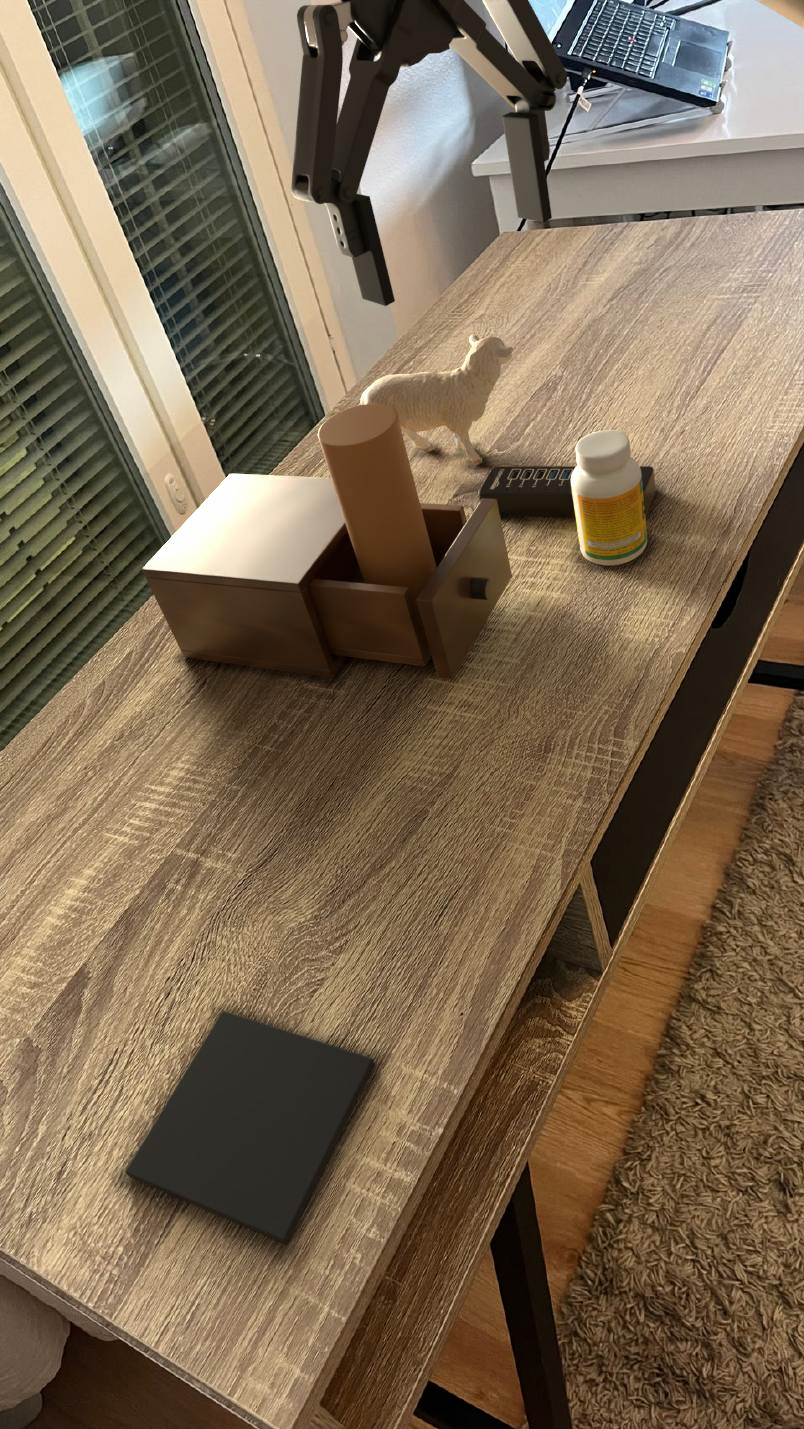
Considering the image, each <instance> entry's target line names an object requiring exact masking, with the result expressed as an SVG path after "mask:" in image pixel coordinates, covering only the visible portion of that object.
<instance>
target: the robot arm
mask: <svg viewBox="0 0 804 1429" xmlns="http://www.w3.org/2000/svg"><path fill="white" fill-rule="evenodd" d="M755 1H756V2H758V3H760V4H762V5H763V6H765V7H766V8H768V9H770V10H771V11H773V12H775V13H777V14H779V15H780V16H782V17H784V18H786V19H787V20H788V21H791V22H792V23H794V24H796V25H797V26H799V27H801V28H802V29H804V0H755ZM482 3H483V4H484V6H485V8H486V10H487V12H488V13H489V15H490V17H491V18H492V20H493V23H494V24H495V26H496V28H497V29H498V31H499V32H500V34H501V36H502V38H503V40H504V41H505V43H506V45H507V47H508V48H509V50H510V52H509V51H508V49H506V47H504V46H503V44H501V42H500V41H498V39H496V37H495V36H494V35H493V34H492V33H491V32H490V31H489V30H488V29H487V28H486V27H487V23H486V22H485V20H484V19H483V18H482V17H481V16H480V15H479V14H478V13H477V12H476V11H475V10H474V9H473V8H472V6H470V5H469V3H467V2H466V0H340V1H338V2H332V3H328V4H305V5H304V4H303V5H302V6H300V7H299V8H298V9H297V13H296V22H297V28H298V35H299V40H300V41H299V42H300V46H301V52H302V59H301V60H302V61H301V72H300V73H301V74H300V83H299V92H298V95H299V96H298V106H297V115H296V116H297V117H296V126H295V127H296V129H295V140H294V152H293V162H292V172H291V174H292V175H291V185H290V189H291V190H290V191H291V194H292V197H293V198H295V199H297V200H299V201H304V202H308V203H311V204H312V203H313V204H316V205H325V207H326V209H327V213H328V217H329V221H330V224H331V228H332V231H333V235H334V238H335V242H336V246H337V249H338V250H339V252H340V253H341V255H343V256H345V257H349V258H351V260H352V265H353V267H354V272H355V276H356V279H357V283H358V287H359V290H360V294H361V298H362V300H365V301H369V302H371V303H374V304H378V305H381V306H384V307H387V306H389V305H391V304H393V303H395V302H396V300H395V295H394V290H393V286H392V282H391V279H390V275H389V270H388V267H387V262H386V258H385V253H384V250H383V246H382V241H381V237H380V233H379V229H378V225H377V220H376V216H375V212H374V207H373V204H372V200H371V196H370V195H365V194H362V193H361V194H360V193H358V191H359V187H360V184H361V181H362V178H363V175H364V171H365V168H366V165H367V162H368V159H369V154H370V152H371V149H372V145H373V141H374V138H375V135H376V132H377V129H378V126H379V123H380V118H381V116H382V113H383V109H384V106H385V103H386V99H387V96H388V92H389V89H390V87H391V86H392V85H393V84H394V83H395V82H396V80H398V76H399V74H400V69H401V67H403V68H410V67H413V66H414V65H416V64H419V63H420V62H422V61H423V60H424V59H425V58H426V57H427V56H428V55H432V54H441V53H443V52H446V51H448V50H450V49H451V48H452V49H453V50H454V51H455V52H456V53H457V54H458V55H459V56H460V57H461V58H462V59H463V60H464V61H465V62H466V63H467V64H468V65H469V66H470V67H471V68H472V69H473V70H474V71H475V72H476V73H477V74H478V75H479V76H480V77H481V78H482V79H483V80H485V82H486V83H488V84H489V85H490V87H492V88H493V90H495V92H497V93H498V94H499V95H500V96H501V98H503V99H504V100H505V101H506V102H507V103H508V104H509V106H511V107H512V108H513V109H515V111H510V112H507V113H505V114H503V115H502V116H501V119H502V125H503V131H504V138H505V144H506V150H507V151H506V152H507V156H508V158H507V159H508V163H509V171H510V176H511V183H512V189H513V194H514V201H515V208H516V214H517V218H520V219H524V220H530V221H534V222H539V223H546V222H547V221H549V220H551V219H552V217H553V215H552V208H551V200H550V193H549V186H548V185H549V184H548V179H547V178H548V177H547V172H546V165H545V162H547V161H548V160H550V154H551V153H550V152H551V148H550V141H549V135H548V132H549V131H548V126H547V125H548V124H547V118H546V112H551V111H552V110H553V109H554V107H555V106H556V102H557V95H556V93H555V91H557V90H561V89H563V88H564V87H565V86H566V84H567V83H568V82H567V81H568V74H567V71H566V70H567V69H565V66H564V65H563V63H562V61H561V59H560V57H559V55H558V53H557V52H556V50H555V47H554V45H553V44H552V42H551V39H550V37H549V36H548V35H547V32H546V31H545V29H544V27H543V25H542V23H541V21H540V20H539V17H538V16H537V13H536V12H535V10H534V7H533V6H532V4H531V2H530V1H529V0H482ZM347 29H349V30H350V31H351V32H352V33H353V34H354V35H355V36H356V37H357V38H356V40H355V45H354V48H353V52H352V54H351V58H350V61H349V66H348V73H349V76H350V77H349V80H348V84H347V88H346V91H345V94H344V98H343V101H342V104H341V108H340V111H339V105H340V95H341V86H342V76H343V63H344V57H343V56H344V51H343V50H344V49H343V46H344V45H345V43H346V42H347V41H348V38H349V34H348V31H347ZM375 58H377V60H375Z"/></svg>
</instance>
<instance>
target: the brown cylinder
mask: <svg viewBox="0 0 804 1429" xmlns="http://www.w3.org/2000/svg"><path fill="white" fill-rule="evenodd" d="M317 437H318V438H317V439H318V441H319V444H320V448H321V450H322V453H323V457H324V460H325V463H326V466H327V470H328V473H329V477H330V478H331V479H332V482H333V485H334V489H335V492H336V495H337V498H338V501H339V504H340V507H341V511H342V514H343V517H344V520H345V523H346V526H347V530H348V533H349V536H350V539H351V542H352V545H353V548H354V552H355V555H356V558H357V561H358V564H359V567H360V571H361V574H362V577H363V580H364V583H366V584H376V585H387V586H398V587H408V588H409V592H410V595H411V599H412V602H413V606H414V609H415V613H416V616H417V620H418V623H419V627H420V626H422V625H423V623H422V619H421V616H420V612H419V608H418V605H417V601H416V599H417V598H418V596H419V595H420V593H421V591H422V590H423V588H424V587H425V585H426V584H427V582H428V581H429V579H430V578H431V576H432V575H433V573H434V572H435V570H436V569H437V567H436V563H435V560H434V556H433V552H432V548H431V544H430V540H429V536H428V532H427V529H426V525H425V521H424V517H423V513H422V509H421V505H420V503H421V501H420V498H419V493H418V489H417V486H416V483H415V479H414V475H413V471H412V468H411V463H410V458H409V454H408V452H407V448H406V444H405V440H404V435H403V432H402V431H401V428H400V424H399V420H398V416H397V413H396V411H395V410H394V409H393V408H391V407H389V406H387V405H382V404H365V405H361V404H359V405H356V406H352V407H349V408H346V409H344V410H341V411H339V412H337V413H335V414H333V415H332V416H330V417H329V418H327V419H326V421H324V422H323V423H322V425H321V426H320V427H319V429H318V432H317Z"/></svg>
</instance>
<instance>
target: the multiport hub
mask: <svg viewBox="0 0 804 1429" xmlns="http://www.w3.org/2000/svg"><path fill="white" fill-rule="evenodd" d="M576 466H577V465H564V466H563V465H556V466H555V465H496V466H493V467H492V468H490V471H488V474H487V475H486V477H485V478H484V480H483V482H482V484H481V485H480V488H479V489H478V491H477V493H478V497H479V502H480V501H481V500H482V499H497V504H498V509H499V514H500V517H535V518H536V517H540V518H541V517H543V518H576V516H575V509H574V502H573V495H572V488H571V476H572V473H573V471H574V469H575V468H576ZM639 466H640V465H639ZM640 469H641V474H642V485H643V497H644V510H645V518H646V517H647V515H648V512H649V510H650V508H651V505H652V502H653V499H654V498H655V497H654V496H655V494H656V490H657V489H656V480H655V470H654V467H653V466H650V465H647V466H646V465H644V466H643V465H641V466H640Z"/></svg>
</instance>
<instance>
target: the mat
mask: <svg viewBox="0 0 804 1429" xmlns="http://www.w3.org/2000/svg"><path fill="white" fill-rule="evenodd" d="M375 1064H376V1063H375V1061H374V1059H373V1058H372V1057H369V1056H365V1055H364V1054H363V1055H362V1054H360V1053H357V1052H354V1051H350V1050H347V1049H344V1048H341V1047H338V1046H335V1045H331V1044H328V1043H325V1042H322V1041H319V1040H315V1039H313V1038H310V1037H306V1036H303V1035H300V1034H298V1033H294V1032H292V1031H289V1030H285V1029H282V1028H278V1027H276V1026H273V1025H269V1024H266V1023H263V1022H260V1021H257V1020H254V1019H251V1018H248V1017H245V1016H241V1015H239V1014H235V1013H233V1012H229V1011H226V1010H222V1011H221V1013H220V1015H219V1016H218V1018H217V1019H216V1021H215V1023H214V1025H213V1027H211V1030H210V1031H209V1033H208V1035H207V1036H206V1038H205V1039H204V1041H203V1043H202V1044H201V1046H200V1047H199V1050H198V1051H197V1053H196V1054H195V1056H194V1057H193V1059H192V1061H191V1062H190V1064H189V1066H188V1068H187V1069H186V1071H185V1072H184V1074H183V1076H182V1077H181V1079H180V1081H179V1082H178V1084H177V1086H176V1087H175V1089H174V1091H173V1092H172V1094H171V1095H170V1097H169V1099H168V1101H167V1102H166V1103H165V1105H164V1107H163V1109H162V1111H160V1114H159V1115H158V1117H157V1119H156V1120H155V1122H154V1123H153V1125H152V1127H151V1129H150V1130H149V1132H148V1133H147V1136H145V1139H144V1140H143V1142H142V1143H141V1145H140V1147H139V1148H138V1150H137V1151H136V1153H135V1155H134V1157H133V1158H132V1160H131V1162H130V1163H129V1165H128V1166H127V1168H126V1170H125V1174H126V1176H128V1178H131V1179H133V1180H135V1181H138V1182H140V1183H141V1184H143V1185H147V1186H148V1187H151V1188H154V1189H156V1190H158V1191H160V1192H163V1193H165V1194H168V1195H169V1196H172V1197H175V1198H177V1199H179V1200H181V1201H184V1202H186V1203H188V1204H190V1205H193V1206H196V1207H198V1208H200V1209H202V1210H204V1211H207V1212H209V1213H212V1214H214V1215H216V1216H218V1217H221V1218H223V1219H225V1220H228V1221H230V1222H232V1223H234V1224H238V1225H240V1226H242V1227H243V1228H246V1229H249V1230H251V1231H254V1232H256V1233H258V1234H260V1235H263V1236H265V1237H267V1238H270V1239H272V1240H274V1241H277V1242H278V1243H282V1244H284V1245H288V1243H289V1241H290V1240H291V1237H292V1235H293V1233H294V1231H295V1230H296V1227H297V1225H298V1223H299V1221H300V1219H301V1216H302V1214H303V1212H304V1211H305V1208H306V1206H307V1204H308V1203H309V1200H310V1199H311V1196H312V1194H313V1192H314V1190H315V1189H316V1186H317V1183H318V1182H319V1179H320V1178H321V1175H323V1174H322V1173H323V1172H324V1169H325V1168H326V1165H327V1164H328V1161H329V1159H330V1157H331V1155H332V1154H333V1151H334V1149H335V1147H336V1145H337V1143H338V1141H339V1139H340V1136H341V1134H342V1132H343V1131H344V1129H345V1127H346V1124H347V1122H348V1120H349V1118H350V1116H351V1114H352V1112H353V1110H354V1108H355V1106H356V1104H357V1102H358V1100H359V1098H360V1095H361V1094H362V1091H363V1089H364V1087H365V1085H366V1083H367V1081H368V1080H369V1077H370V1076H371V1073H372V1072H373V1069H374V1067H375Z"/></svg>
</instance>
